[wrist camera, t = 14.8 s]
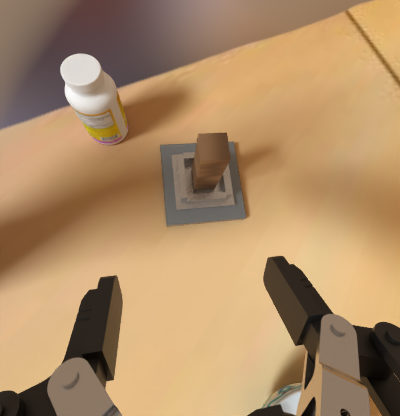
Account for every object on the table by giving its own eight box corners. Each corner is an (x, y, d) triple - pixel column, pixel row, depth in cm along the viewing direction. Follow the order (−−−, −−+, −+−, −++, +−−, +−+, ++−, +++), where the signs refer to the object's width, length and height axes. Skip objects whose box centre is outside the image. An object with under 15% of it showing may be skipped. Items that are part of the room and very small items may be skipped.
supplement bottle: (104, 106, 41) (75, 37, 29) (136, 124, 41) (120, 63, 28) (81, 134, 39) (38, 73, 27) (114, 153, 39) (87, 101, 27)
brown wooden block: (193, 190, 37) (201, 160, 27) (191, 170, 38) (198, 133, 28) (214, 189, 38) (230, 159, 27) (212, 169, 39) (226, 132, 28)
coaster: (166, 226, 37) (166, 225, 36) (160, 147, 40) (160, 144, 39) (244, 219, 39) (246, 218, 38) (232, 144, 42) (233, 141, 41)
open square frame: (176, 210, 37) (176, 206, 34) (171, 156, 39) (171, 148, 36) (233, 205, 38) (238, 201, 36) (225, 153, 40) (229, 146, 38)
